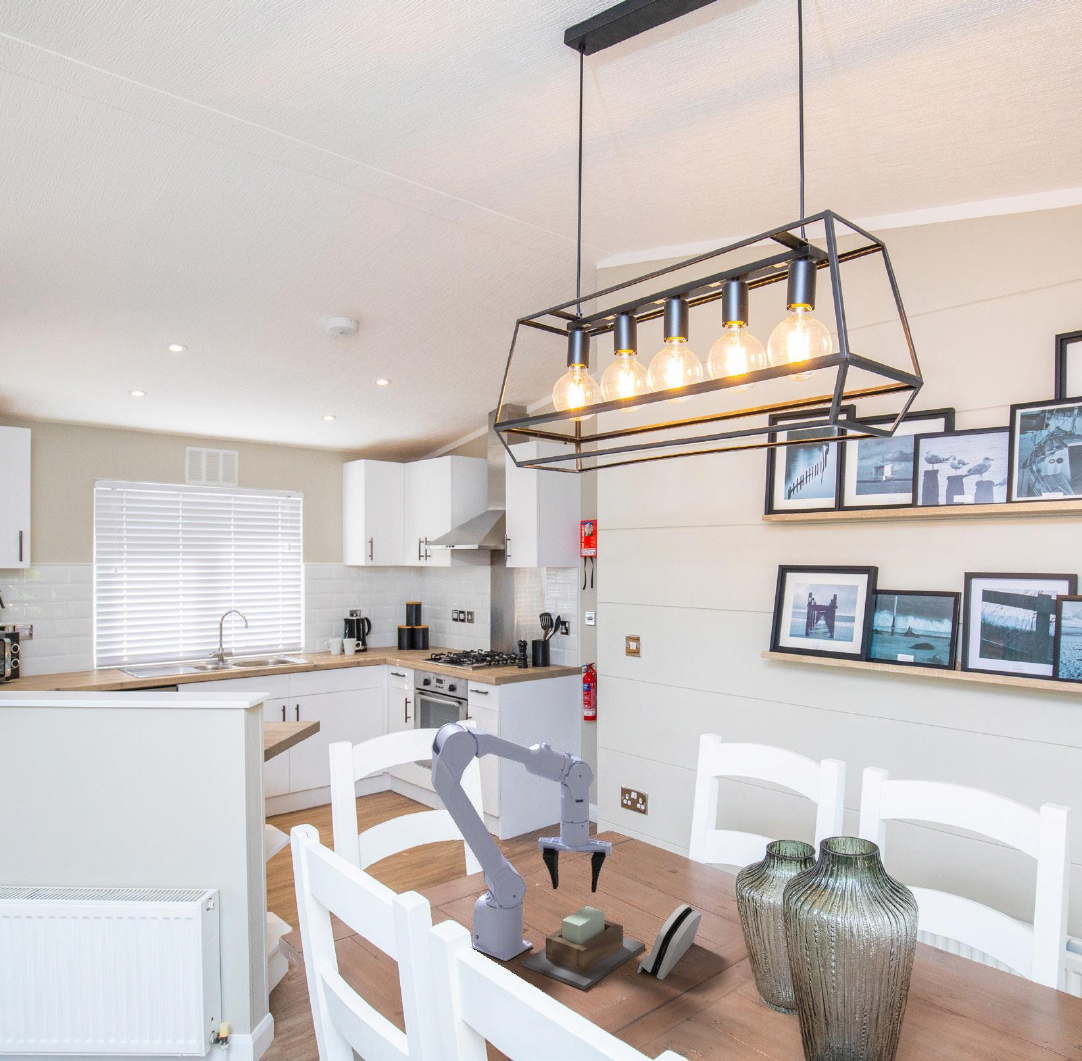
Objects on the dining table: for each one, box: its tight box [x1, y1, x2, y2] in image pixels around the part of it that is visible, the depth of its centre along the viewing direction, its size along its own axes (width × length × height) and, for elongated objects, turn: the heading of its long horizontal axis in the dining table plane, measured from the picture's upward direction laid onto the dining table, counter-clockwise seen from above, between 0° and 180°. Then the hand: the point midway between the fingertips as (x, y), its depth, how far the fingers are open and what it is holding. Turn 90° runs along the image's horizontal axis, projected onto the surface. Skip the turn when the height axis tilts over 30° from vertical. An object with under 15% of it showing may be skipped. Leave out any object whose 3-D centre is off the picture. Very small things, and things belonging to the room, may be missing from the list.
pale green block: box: [561, 905, 605, 945], centre depth 149 cm, size 4×8×6 cm, turn 142°
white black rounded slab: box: [636, 903, 702, 980], centre depth 149 cm, size 17×5×10 cm, turn 151°
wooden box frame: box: [521, 919, 646, 991], centre depth 150 cm, size 14×20×5 cm
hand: (574, 889), depth 158 cm, fingers open, 7 cm apart
